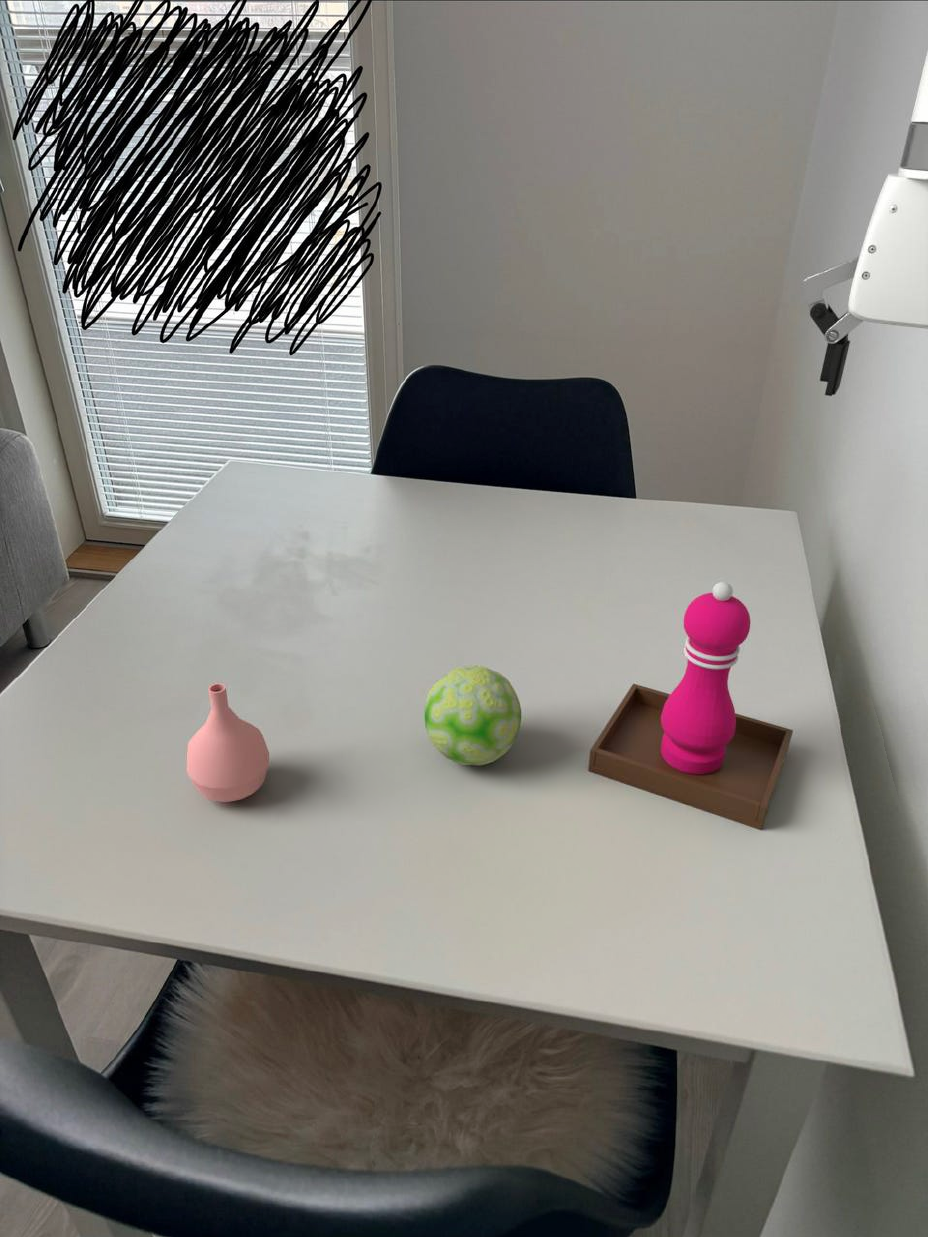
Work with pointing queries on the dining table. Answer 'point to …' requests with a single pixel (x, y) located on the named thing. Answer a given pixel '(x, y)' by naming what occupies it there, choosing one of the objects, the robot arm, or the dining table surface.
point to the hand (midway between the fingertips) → (896, 400)
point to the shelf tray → (726, 792)
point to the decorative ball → (472, 715)
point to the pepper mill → (705, 684)
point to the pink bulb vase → (226, 753)
